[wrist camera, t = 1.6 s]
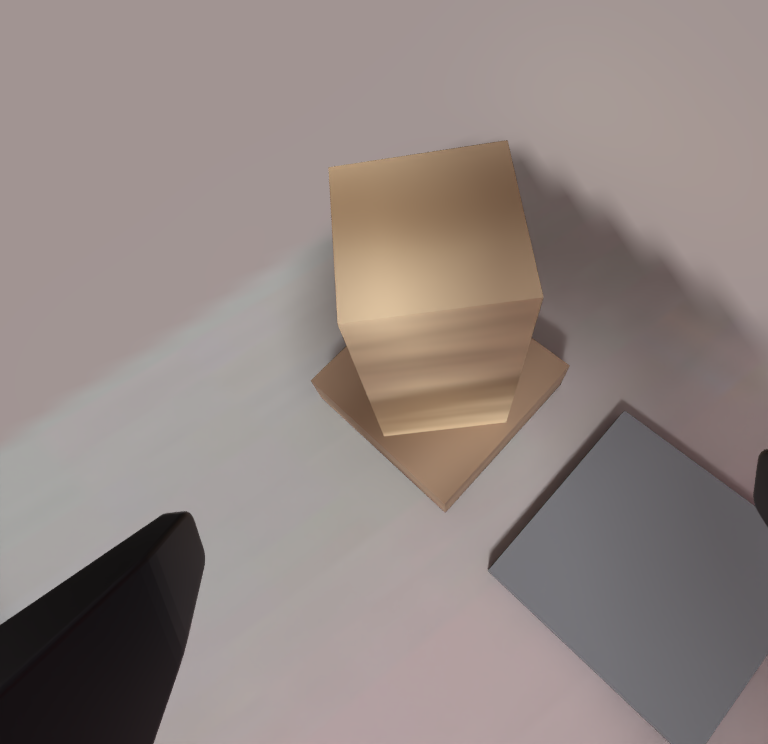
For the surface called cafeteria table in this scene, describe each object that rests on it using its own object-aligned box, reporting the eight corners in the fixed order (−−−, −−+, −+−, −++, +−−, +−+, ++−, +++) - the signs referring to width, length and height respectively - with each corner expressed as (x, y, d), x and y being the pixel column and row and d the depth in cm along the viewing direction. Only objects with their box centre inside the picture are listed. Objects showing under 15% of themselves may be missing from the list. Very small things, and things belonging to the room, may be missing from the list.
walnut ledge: (560, 384, 22) (569, 365, 21) (445, 512, 21) (444, 504, 19) (432, 288, 25) (430, 264, 23) (321, 397, 23) (310, 380, 22)
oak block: (506, 422, 20) (543, 297, 12) (384, 436, 20) (337, 324, 12) (486, 314, 22) (507, 140, 14) (374, 328, 22) (328, 167, 14)
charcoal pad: (820, 563, 19) (831, 562, 18) (685, 757, 17) (692, 762, 17) (620, 415, 22) (624, 410, 21) (487, 570, 20) (488, 569, 20)
